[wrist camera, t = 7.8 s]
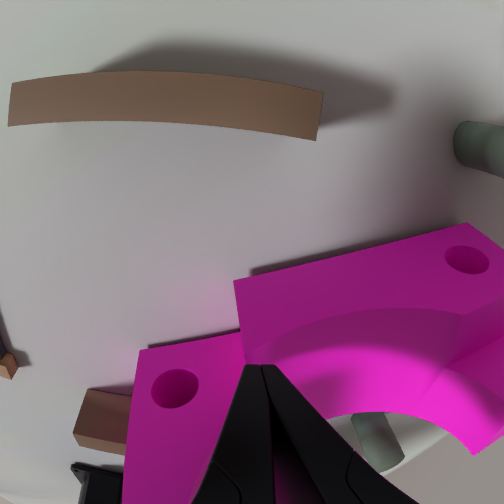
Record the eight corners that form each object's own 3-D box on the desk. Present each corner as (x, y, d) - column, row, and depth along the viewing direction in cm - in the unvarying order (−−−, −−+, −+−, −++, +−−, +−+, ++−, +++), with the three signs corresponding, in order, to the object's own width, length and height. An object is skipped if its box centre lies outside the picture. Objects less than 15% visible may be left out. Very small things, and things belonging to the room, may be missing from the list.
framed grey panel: (373, 421, 17) (394, 468, 13) (-25, 380, 13) (-49, 420, 9) (485, 129, 10) (552, 144, 6) (-80, 92, 6) (-133, 100, 2)
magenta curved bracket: (466, 222, 11) (586, 327, 5) (444, 324, 14) (515, 426, 8) (114, 305, 11) (68, 497, 4) (171, 397, 14) (171, 537, 7)
